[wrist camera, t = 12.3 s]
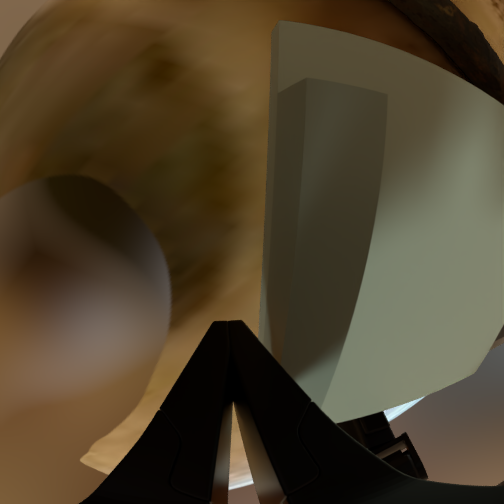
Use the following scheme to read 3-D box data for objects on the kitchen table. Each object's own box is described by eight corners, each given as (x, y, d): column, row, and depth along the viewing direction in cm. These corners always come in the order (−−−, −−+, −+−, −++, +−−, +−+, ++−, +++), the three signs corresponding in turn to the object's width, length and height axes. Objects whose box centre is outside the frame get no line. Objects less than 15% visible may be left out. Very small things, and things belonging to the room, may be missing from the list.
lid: (467, 364, 14) (489, 392, 11) (252, 420, 12) (261, 472, 9) (540, 143, 7) (580, 157, 5) (271, 32, 6) (306, -21, 3)
